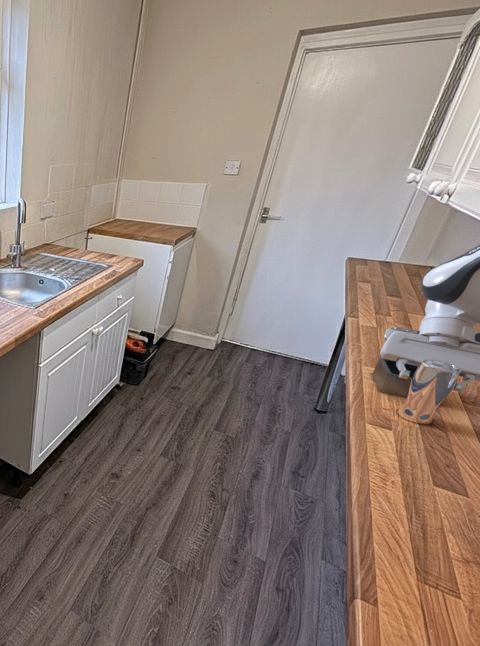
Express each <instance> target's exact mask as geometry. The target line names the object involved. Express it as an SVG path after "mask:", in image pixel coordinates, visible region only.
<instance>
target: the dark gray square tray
mask: <svg viewBox="0 0 480 646" xmlns="http://www.w3.org/2000/svg"><path fill="white" fill-rule="evenodd" d="M396 363H397V361H393V360H388V359H384V358H382V357H379V358H378V361H377V363H376V365H375V368H374V369H373V372H372V377H373V379H374V381H375V383H376V387H377V388H378V390H379V392H380V393H385V394H388V395H392V396H393V395H394V396H398V397H402V398H406V399H407V396H408V391H409V386H410V382H411V379H412V377H413V375H414V373H415V371H416V369H417V368H418V366H414V365H410V364H405V365H404V366H405V368H406V370H408V371H410V374H409V377H408V378H407V379H404V378H400V377H399V375H400V371H399V369H398V367H397V366H396Z"/></svg>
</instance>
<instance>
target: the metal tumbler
mask: <svg viewBox="0 0 480 646" xmlns="http://www.w3.org/2000/svg"><path fill="white" fill-rule="evenodd" d="M433 363H436V364H440V365H442V366H443V367H440V366H435V365H432V364H433ZM460 372H461V370H460V369H459V368H458V367H456V366H454V365H451V364H448V363H445V362H441V361H437V360H428V359H426V360H422V361H421V363H420V365H419V366H418V368H417V369H416V371H415V373H414V375H413V377H412V379H411V382H410V386H409V391H408V396H407V398H406V399H405V401H404V403H403V404H402V405H401V406H400V408H399V409H398V410H397V414H398V415H399V416H400V417H402V418H404V419H405V420H407V421H410V422H413V423H416V424H419V425H420V424H422V425H429V424H431V423H432V422H433V416H434V414H435V411H436V410H437V409H438V407H439V406H440V405H441V404H442V402H443V401H445V399H447V397H448V396H449V395H450V393H451V392H452V391H453V388H454V386H455V384H456V383H457V382H458V379H459V377H460V376H459V374H460Z"/></svg>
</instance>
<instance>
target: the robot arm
mask: <svg viewBox="0 0 480 646" xmlns="http://www.w3.org/2000/svg"><path fill="white" fill-rule="evenodd" d="M420 289H421V292H422V294H423V296H424V298H425V299H426V300H427V301H426V304H425V308H424V313H425V315H424V318H422V319H421V322H420V325H419V330H416V329H410V328H404V327H400V326H399V327H398V326H395V327H389V328H387V329H386V330H385V332H384V335H383V336H384V340H385V342H384V343H383V345H382V346H381V350H380V351H379V355H380V358H384V359H388V360H393V361H397V363H396V366H397V367H398V369H399V371H400V375H399V377H400V378H404V379H407V378H408V377H409V374H410V371H408V370H406V368H405V366H404V365H405V364H410V365H414V366H419V365H420V363H421V361H422V360H426V359H428V360H437V361H441V362H445V363H448V364H451V365H454V366H456V367H458V368H459V369H460V370H461V372H460V374H459V377H462V381H463V382H458V381H457V382H456V384H455V386H454V388H453V389H452V391H453V392H457V393H461V394H462V393H463V392H464V391H465V390H466V386H467V385H469V384H470V383H472V382H473V381H479V382H480V331H479V330H477V329H474V325H475V324H480V244H478V245H476V246H474V247H472V248H471V249H469V250H468V251H466V252H464V253H462V254H460V255H458V256H455V258H452V259H450V260H447V261H445V262H443V263H440V264H438V265H436V266H434V267H433V268H431V269H430V270H429V271H427V272H426V273H425V274H424V275H423V277H422V278H421V282H420ZM432 365H435V366H440V367H443V366H442V365H440V364H436V363H433V364H432Z"/></svg>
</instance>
